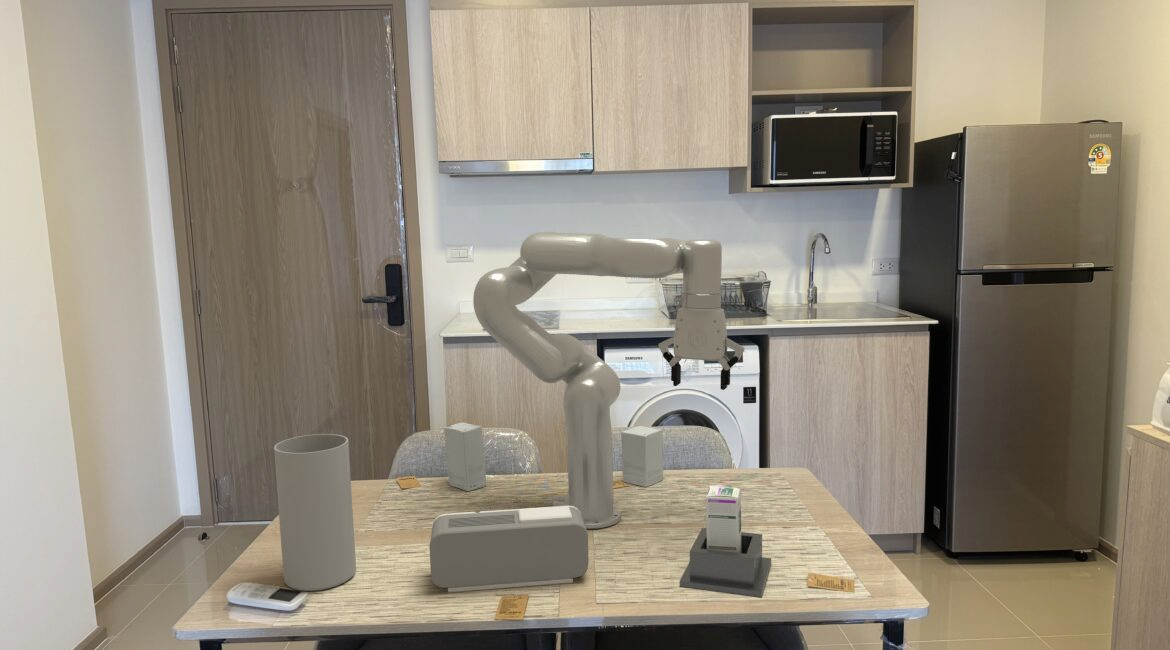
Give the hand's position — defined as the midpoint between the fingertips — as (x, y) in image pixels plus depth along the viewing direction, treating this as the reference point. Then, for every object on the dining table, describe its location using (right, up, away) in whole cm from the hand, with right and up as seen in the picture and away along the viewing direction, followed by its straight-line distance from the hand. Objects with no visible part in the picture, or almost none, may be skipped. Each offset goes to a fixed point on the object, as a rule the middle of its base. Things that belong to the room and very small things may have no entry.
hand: (700, 386), depth 163 cm
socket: (+2, -32, -18) cm, 37 cm away
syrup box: (+2, -31, -18) cm, 36 cm away
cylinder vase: (-71, -34, -16) cm, 80 cm away
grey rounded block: (-37, -33, -17) cm, 52 cm away
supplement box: (-9, -26, +34) cm, 44 cm away
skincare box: (-52, -27, +33) cm, 67 cm away
